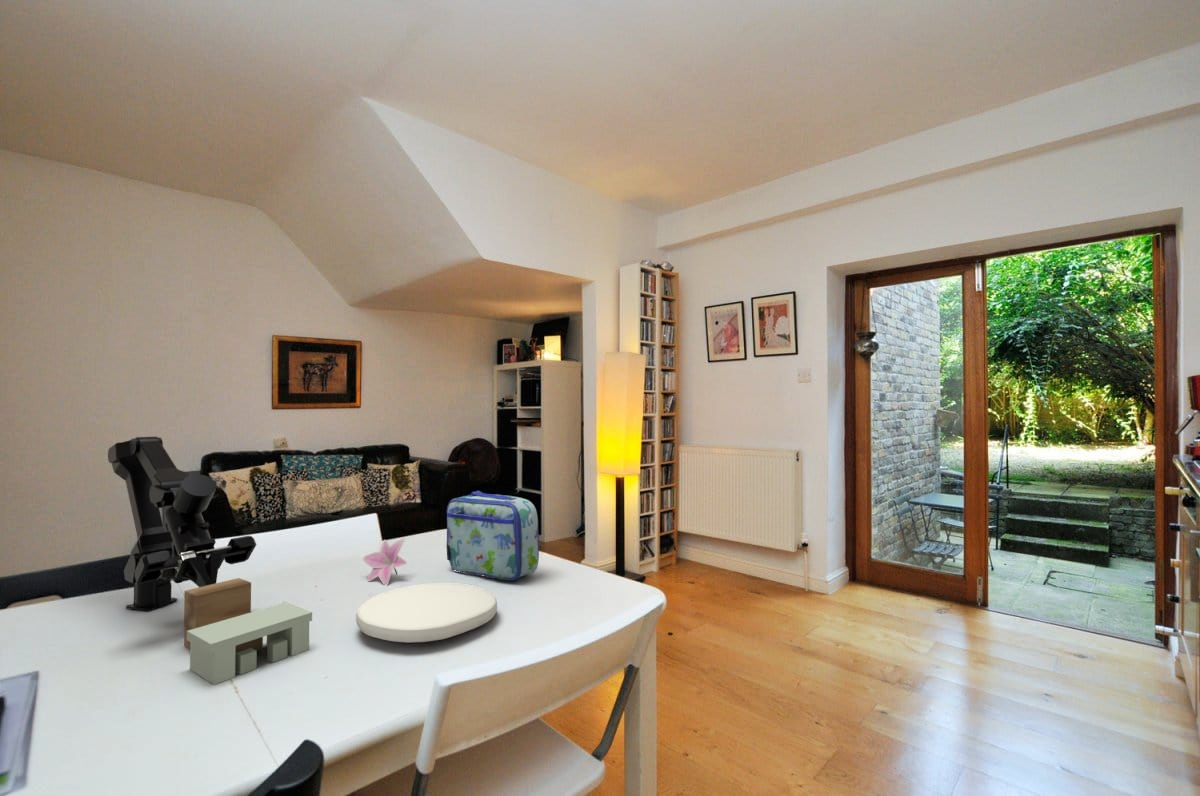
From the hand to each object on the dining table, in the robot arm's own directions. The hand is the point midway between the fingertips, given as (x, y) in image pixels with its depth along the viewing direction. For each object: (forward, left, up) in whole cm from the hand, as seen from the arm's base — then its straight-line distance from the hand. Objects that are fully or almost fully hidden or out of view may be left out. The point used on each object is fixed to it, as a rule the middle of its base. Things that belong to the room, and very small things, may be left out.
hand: (212, 594), depth 104 cm
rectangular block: (+6, -2, -8) cm, 11 cm away
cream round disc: (+36, +16, -9) cm, 41 cm away
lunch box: (+34, +49, -8) cm, 60 cm away
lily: (+11, +38, -8) cm, 41 cm away
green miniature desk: (+15, -6, -8) cm, 18 cm away
